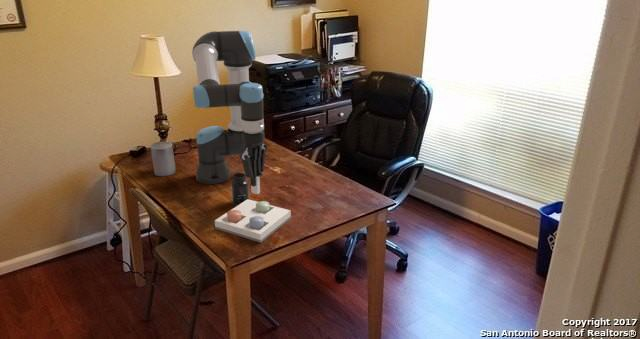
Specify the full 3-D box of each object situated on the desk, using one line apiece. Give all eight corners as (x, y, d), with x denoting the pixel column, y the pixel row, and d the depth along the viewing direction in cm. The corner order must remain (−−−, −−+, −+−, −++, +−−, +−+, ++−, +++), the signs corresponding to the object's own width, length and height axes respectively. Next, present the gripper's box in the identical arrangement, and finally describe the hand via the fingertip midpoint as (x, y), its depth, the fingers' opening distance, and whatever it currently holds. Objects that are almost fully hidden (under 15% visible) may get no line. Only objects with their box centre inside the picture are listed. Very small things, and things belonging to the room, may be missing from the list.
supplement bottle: (241, 207, 186) (240, 180, 181) (228, 203, 189) (226, 176, 184) (252, 201, 191) (251, 174, 186) (240, 197, 194) (238, 170, 190)
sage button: (253, 214, 177) (253, 205, 175) (261, 209, 181) (260, 200, 180) (264, 217, 175) (264, 208, 173) (272, 212, 179) (271, 202, 177)
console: (215, 228, 170) (214, 220, 168) (248, 206, 186) (247, 199, 185) (260, 242, 161) (260, 234, 160) (290, 218, 177) (290, 210, 176)
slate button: (247, 230, 166) (246, 220, 164) (255, 224, 170) (254, 214, 168) (258, 234, 164) (258, 224, 162) (266, 227, 168) (266, 218, 166)
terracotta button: (224, 224, 170) (224, 214, 169) (233, 218, 174) (232, 208, 173) (235, 227, 168) (235, 217, 166) (244, 221, 172) (243, 211, 171)
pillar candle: (164, 167, 224) (160, 137, 218) (180, 170, 220) (176, 140, 214) (149, 174, 216) (144, 143, 210) (165, 178, 212) (161, 147, 206)
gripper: (250, 137, 150) (253, 202, 159) (273, 126, 160) (274, 188, 170) (231, 133, 153) (236, 197, 163) (255, 123, 163) (257, 183, 173)
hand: (255, 192), depth 166 cm, fingers closed
